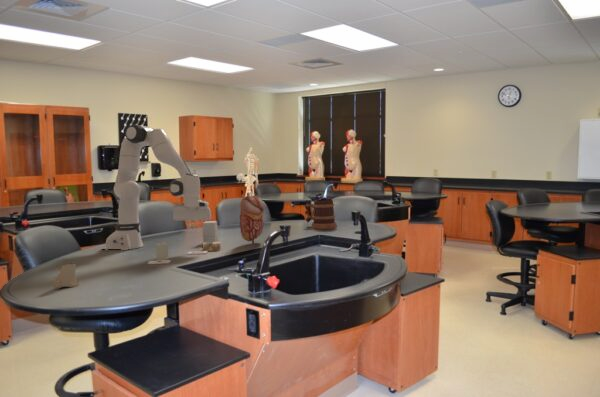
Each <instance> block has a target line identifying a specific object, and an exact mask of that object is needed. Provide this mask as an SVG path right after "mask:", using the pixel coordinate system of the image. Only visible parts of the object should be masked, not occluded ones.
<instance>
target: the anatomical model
mask: <svg viewBox="0 0 600 397" xmlns="http://www.w3.org/2000/svg"><path fill="white" fill-rule="evenodd" d="M263 203H264V202H263V201H262V199H261V198H260V197H259V196H257V195H256V196H255V195H250V192H249V191H248V192H246V196H244V197H242V198H241V201H240V203H239V208H240V210H239V212H240V213H239V229H240V234H241V237H242V239H243V240H244V241H247V242H251V244H253V245H254V244H255V240H256V239H257V238H259V237H260V236H261V235H262V234H263V230H264V224H265V221H264V218H263V214H264V204H263Z"/></svg>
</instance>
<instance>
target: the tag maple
mask: <svg viewBox="0 0 600 397" xmlns="http://www.w3.org/2000/svg"><path fill="white" fill-rule="evenodd" d="M206 254H208V251H203V250H199V251H198V250H195V251H188V252H187V255H188V256H191V255H206Z"/></svg>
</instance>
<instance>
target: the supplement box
mask: <svg viewBox="0 0 600 397" xmlns="http://www.w3.org/2000/svg"><path fill="white" fill-rule="evenodd" d="M201 226H202V241H203V242H202V244H203V243H204V242H219V233H218V220H211V221H210V220H205V221H204V222H203V221H202V223H201Z"/></svg>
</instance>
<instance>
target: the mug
mask: <svg viewBox="0 0 600 397" xmlns="http://www.w3.org/2000/svg"><path fill="white" fill-rule="evenodd" d="M305 203H306V204H305V207H306V211H307V218H306V219H305V222H307V223H310V222H311V221H312V219H313V222H312V223H311V225H310V227H311V228H312V229H319V230H321V229H322V230H323V229H325V230H326V229H334V228H338V224H337V222H336V221H335V218H336V215H335V211H334V210H335V209H334V208H335V204H334V201H333V199H331V198H327V197H321V198H320V199H318V198H315V199H313V203H311V200H309V199H308V200H305ZM311 207H313V215H312V210H311Z"/></svg>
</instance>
